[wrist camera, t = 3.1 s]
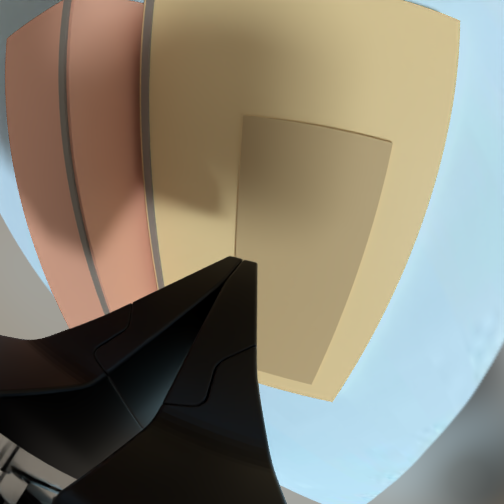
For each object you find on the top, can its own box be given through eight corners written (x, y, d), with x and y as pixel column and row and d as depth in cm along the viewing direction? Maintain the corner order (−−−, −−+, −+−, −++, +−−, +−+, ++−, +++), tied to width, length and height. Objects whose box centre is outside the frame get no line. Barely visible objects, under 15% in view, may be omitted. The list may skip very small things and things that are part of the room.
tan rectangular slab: (334, 393, 15) (332, 403, 14) (175, 345, 17) (170, 353, 16) (453, 24, 5) (461, 20, 4) (154, 1, 7) (142, -1, 6)
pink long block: (170, 343, 17) (140, 386, 14) (111, 317, 18) (80, 352, 15) (146, 3, 7) (73, -7, 4) (67, 31, 8) (5, 38, 5)
